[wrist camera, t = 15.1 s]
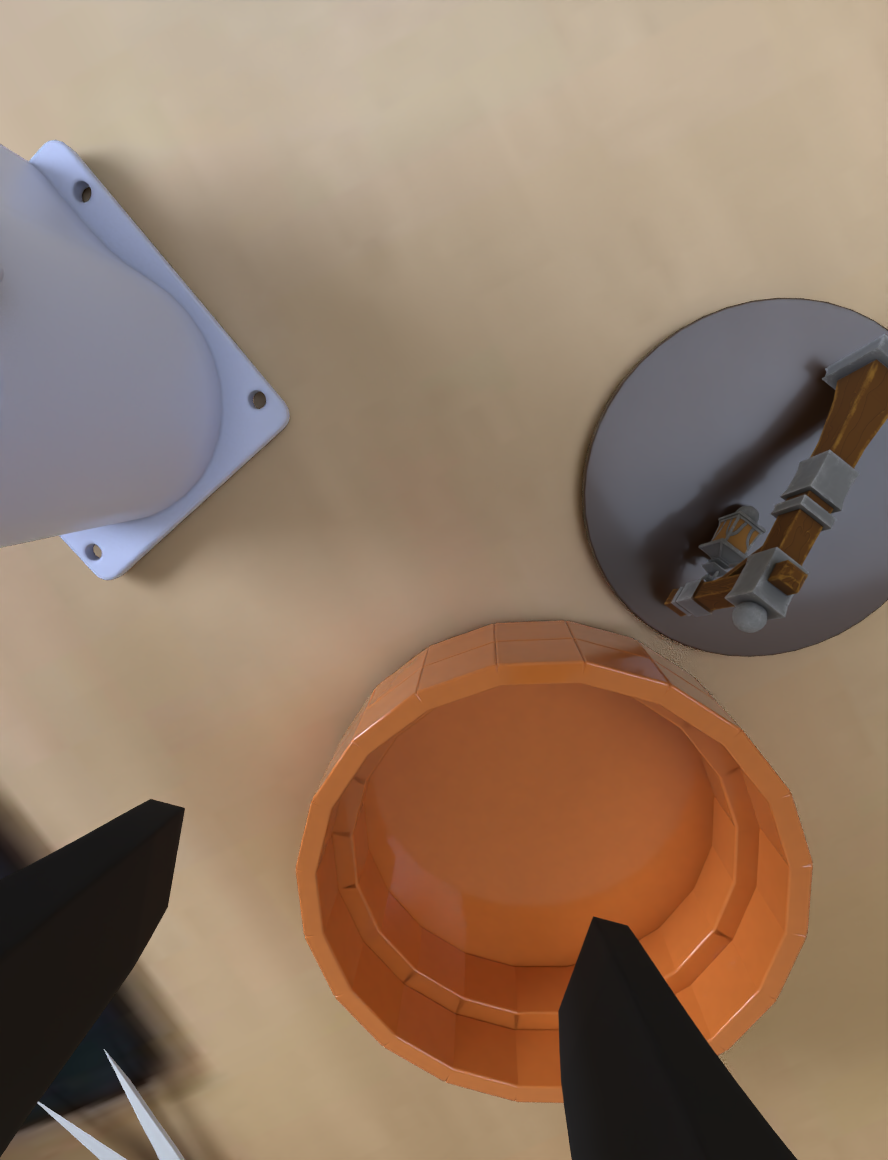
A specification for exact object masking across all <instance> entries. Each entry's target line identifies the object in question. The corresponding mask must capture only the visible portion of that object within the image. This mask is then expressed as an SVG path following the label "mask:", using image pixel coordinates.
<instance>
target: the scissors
mask: <svg viewBox="0 0 888 1160" xmlns="http://www.w3.org/2000/svg"><path fill="white" fill-rule="evenodd" d="M104 1050H105V1049H104ZM105 1052H106V1051H105ZM106 1054H107V1056H108V1058H109V1060H110V1062H111V1064H112V1066H113V1068H114V1070H115V1072H116V1075H117V1077H118V1079H119V1081H120V1083H121V1085H122V1087H123V1089H124V1091H125V1093H126V1095H127V1097H128V1099H129V1101H130V1103H131V1105H132V1107H133V1109H134V1111H135V1113H136V1115H137V1117H138V1119H139V1121H140V1123H141V1125H142V1127H143V1129H144V1131H145V1133H146V1134H147V1136H148V1138H149V1140H150V1142H151V1144H152V1146H153V1147H154V1149H155V1151H156V1153H157V1156H158V1158H159V1160H185V1159H184V1157H183V1156H182V1154H181V1153H180V1151H179V1150H178V1148H177V1147H176V1145H175V1144H174V1142H173V1141H172V1140H171V1138H170V1137H169V1135H168V1134H167V1133H166V1131H165V1130H164V1128H163V1127H162V1126H161V1124H160V1123H159V1121H158V1120H157V1119H156V1117H155V1116H154V1114H153V1113H152V1111H151V1110H150V1108H149V1107H148V1106H147V1104H146V1103H145V1101H144V1100H143V1098H142V1097H141V1095H140V1094H139V1092H138V1091H137V1089H136V1088H135V1086H134V1085H133V1084H132V1082H131V1081H130V1079H129V1078H128V1077H127V1076H126V1074H125V1073H124V1072H123V1071H122V1070H121V1068H120V1067H119V1066H118V1065H117V1064H116V1063H115V1061H114V1060H113V1059H112V1058H111V1057H110V1055H109V1054H108V1053H107V1052H106ZM38 1104H39V1105H40V1106H41V1107H42V1108H43V1109H45V1110H46V1111H47V1112H48V1113H49V1114H50V1115H51V1116H52V1117H53V1118H55V1119H56V1120H57V1121H58V1122H59V1123H60V1124H61V1125H62V1126H63V1127H64V1128H66V1129H67V1130H68V1131H69V1132H70V1133H71V1134H72V1135H73V1136H74V1137H76V1138H77V1139H78V1140H79V1141H80V1142H81V1143H82V1144H83V1145H84V1146H85V1147H87V1148H88V1149H89V1150H90V1151H91V1152H92V1153H93V1154H94V1155H95V1156H97V1157H98V1158H99V1159H100V1160H126V1159H125V1158H123V1157H122V1156H120V1155H119V1154H117V1153H116V1152H114V1151H113V1150H111V1149H110V1148H108V1147H107V1146H105V1145H104V1144H102V1143H101V1142H99V1141H98V1140H96V1139H95V1138H93V1137H91V1136H90V1135H88V1134H87V1133H85V1132H84V1131H82V1130H81V1129H79V1128H78V1127H76V1126H75V1125H73V1124H72V1123H70V1122H69V1121H67V1120H66V1119H64V1118H63V1117H61V1116H60V1115H58V1114H56V1113H55V1112H53V1111H52V1110H50V1109H49V1108H47V1107H46V1106H44V1105H43V1104H41V1103H40V1102H38Z"/></svg>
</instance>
